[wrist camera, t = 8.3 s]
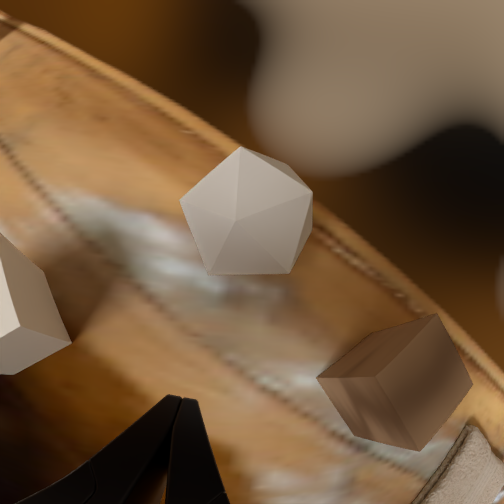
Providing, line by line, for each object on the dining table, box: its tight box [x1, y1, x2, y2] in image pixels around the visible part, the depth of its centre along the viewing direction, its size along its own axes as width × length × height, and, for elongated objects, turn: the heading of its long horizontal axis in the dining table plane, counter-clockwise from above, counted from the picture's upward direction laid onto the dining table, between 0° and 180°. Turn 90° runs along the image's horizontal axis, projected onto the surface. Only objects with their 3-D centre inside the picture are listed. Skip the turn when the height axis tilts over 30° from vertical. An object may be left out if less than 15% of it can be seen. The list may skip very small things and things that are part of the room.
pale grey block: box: [0, 233, 72, 375], centre depth 15 cm, size 6×6×8 cm
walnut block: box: [316, 313, 473, 451], centre depth 19 cm, size 6×6×8 cm
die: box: [179, 146, 313, 275], centre depth 21 cm, size 8×9×10 cm
